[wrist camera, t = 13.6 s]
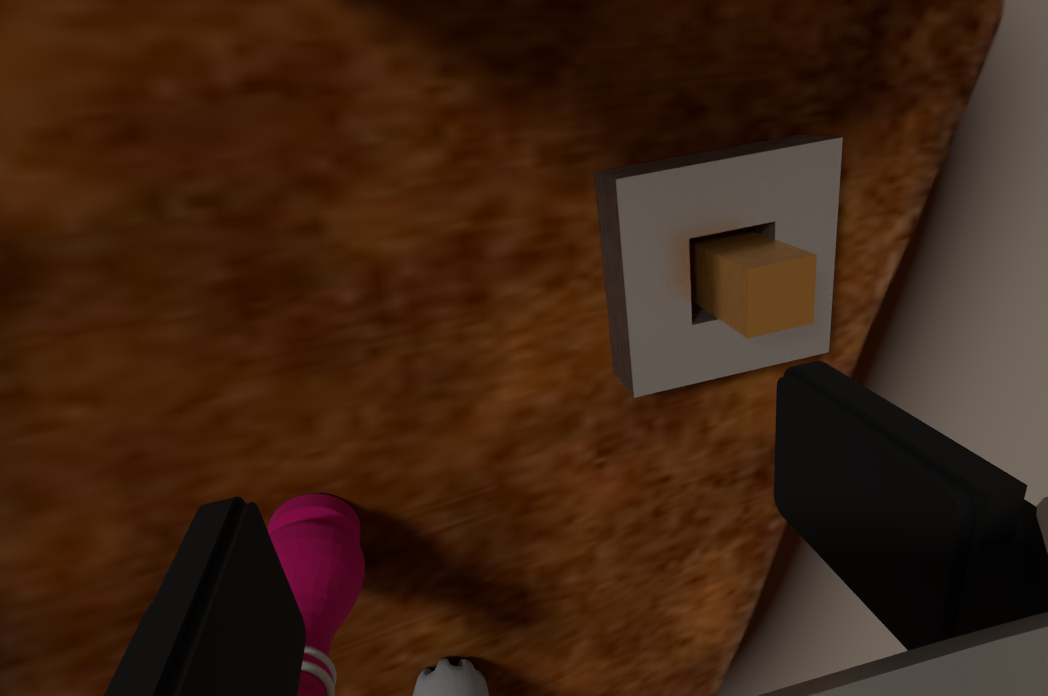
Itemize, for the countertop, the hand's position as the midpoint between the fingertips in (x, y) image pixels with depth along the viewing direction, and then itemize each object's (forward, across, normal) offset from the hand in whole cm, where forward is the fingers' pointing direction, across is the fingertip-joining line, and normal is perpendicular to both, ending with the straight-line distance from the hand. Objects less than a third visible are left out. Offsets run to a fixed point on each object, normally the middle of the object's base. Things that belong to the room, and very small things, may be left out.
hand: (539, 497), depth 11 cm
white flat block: (+28, -17, +6) cm, 34 cm away
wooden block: (+28, -17, +6) cm, 34 cm away
